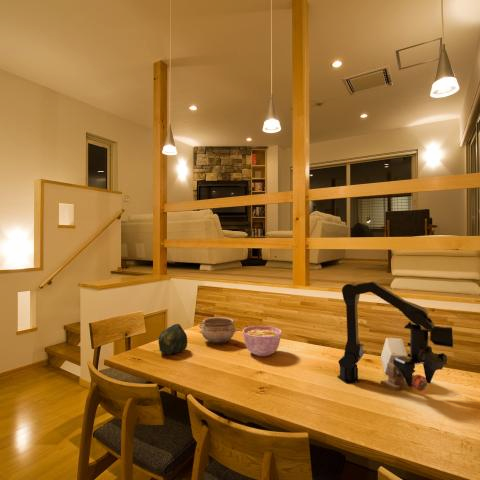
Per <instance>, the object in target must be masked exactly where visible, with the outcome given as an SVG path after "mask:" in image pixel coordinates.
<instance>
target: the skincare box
mask: <svg viewBox="0 0 480 480" xmlns="http://www.w3.org/2000/svg"><path fill="white" fill-rule="evenodd" d="M396 357H405V358H407V359H408V353H407V350H406V346H405V343H404V340H403V338H395V337H386V338H385V341H384V344H383V347H382V352H381V354H380V359H381V365H382V368H383V371H384V374H385V375H386V374H387V363H392V362H394V358H396Z"/></svg>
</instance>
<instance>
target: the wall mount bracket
mask: <svg viewBox="0 0 480 480" xmlns="http://www.w3.org/2000/svg"><path fill="white" fill-rule="evenodd" d="M397 369H398V370H400V369H399V368H398V367H397V366H395V365H394V362H392V363H387V376H388V379H385V380H380V385H382V386H384V387H385V388H387V389H389V390H391V391H397V390H404V389H407V388H408V389H409V388H414V387H413V386H411V387H409V386H408V385H407V382H406V380H405V378H404V377H402V376H400V375H398V374H397Z"/></svg>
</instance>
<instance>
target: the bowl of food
mask: <svg viewBox="0 0 480 480" xmlns="http://www.w3.org/2000/svg"><path fill="white" fill-rule="evenodd" d="M242 334H243V339H244V344H245V346H246V347H245V348H246V349H247V350H248V352H250V353H251V354H253V355H255V356H256V357H269V356H270V355H272V354H274V353H275V352H276V351H277V350H278V348H279V346H280V341H281V338H282V330H281V329H280V328H278V327H274V326H268V325H252V326H248V327H244V328H243V329H242Z"/></svg>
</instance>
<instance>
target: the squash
mask: <svg viewBox="0 0 480 480" xmlns="http://www.w3.org/2000/svg"><path fill="white" fill-rule="evenodd" d="M157 343H158V348H159V351H160V352H161V353H162V354H164V355H172V354H177V353H182V352H184V351H185V350H186V348H187V347H188V335H187V334H186V332H185V330H184V329H183V327H182V326H181V324H180V323H175V324H173V325H171V326H169V327H167V328H166V329H164V330H162V331H161V332H160V334H159V337H158V342H157Z"/></svg>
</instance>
